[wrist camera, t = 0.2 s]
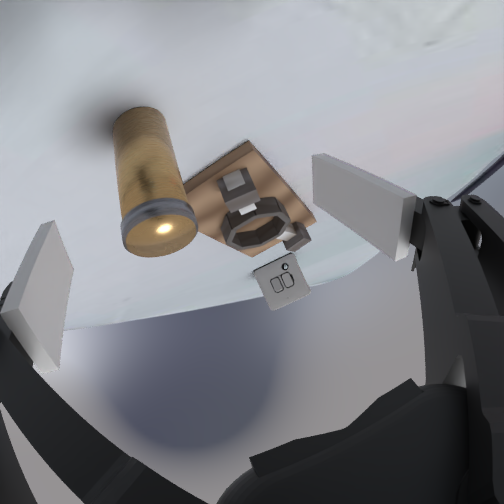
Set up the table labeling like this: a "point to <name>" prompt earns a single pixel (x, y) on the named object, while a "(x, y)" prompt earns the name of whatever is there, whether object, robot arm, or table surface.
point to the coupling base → (264, 187)
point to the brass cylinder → (150, 186)
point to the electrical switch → (282, 282)
